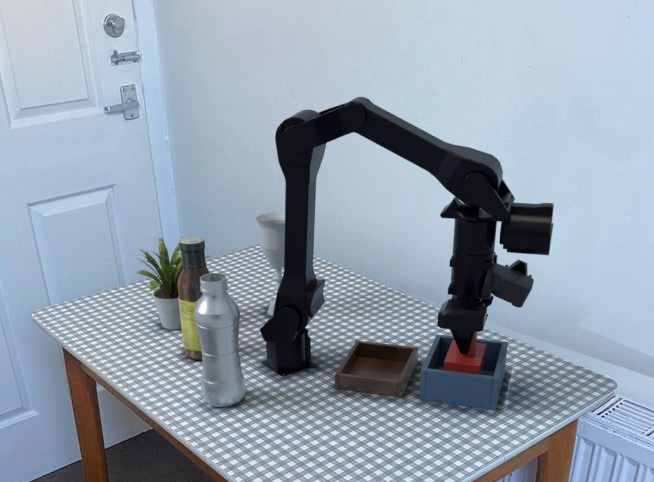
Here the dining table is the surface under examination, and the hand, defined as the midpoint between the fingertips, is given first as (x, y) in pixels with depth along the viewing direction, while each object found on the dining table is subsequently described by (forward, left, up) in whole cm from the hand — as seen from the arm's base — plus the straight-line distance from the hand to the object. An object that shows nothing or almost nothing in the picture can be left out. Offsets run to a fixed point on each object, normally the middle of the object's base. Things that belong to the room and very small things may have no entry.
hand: (465, 349), depth 118 cm
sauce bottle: (-26, +35, -7) cm, 45 cm away
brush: (0, 0, -4) cm, 4 cm away
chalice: (-6, +42, -7) cm, 43 cm away
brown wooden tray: (-8, +11, -7) cm, 15 cm away
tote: (0, 0, -7) cm, 7 cm away
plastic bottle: (-31, +18, -7) cm, 37 cm away
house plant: (-25, +48, -7) cm, 55 cm away
